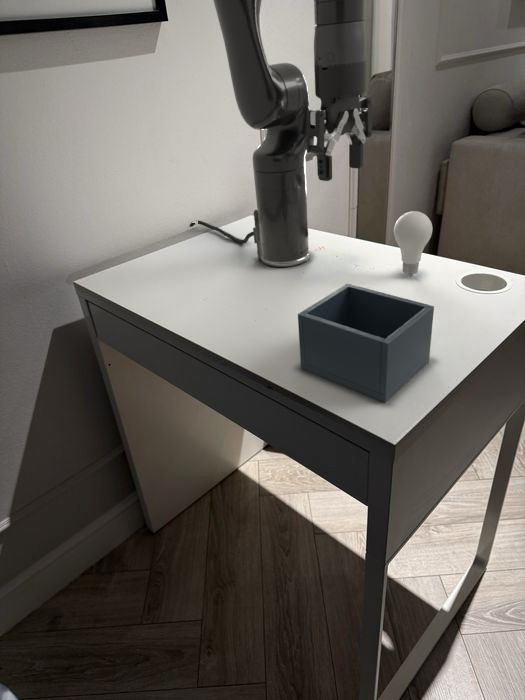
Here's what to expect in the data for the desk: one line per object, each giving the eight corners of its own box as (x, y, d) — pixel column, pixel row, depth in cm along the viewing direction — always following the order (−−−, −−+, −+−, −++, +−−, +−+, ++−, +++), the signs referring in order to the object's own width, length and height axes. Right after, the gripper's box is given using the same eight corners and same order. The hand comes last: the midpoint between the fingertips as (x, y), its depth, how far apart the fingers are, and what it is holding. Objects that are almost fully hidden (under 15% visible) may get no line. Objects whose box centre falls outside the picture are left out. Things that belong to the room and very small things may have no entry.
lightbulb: (429, 282, 86) (435, 217, 80) (391, 282, 87) (394, 218, 82) (427, 268, 91) (432, 205, 85) (391, 268, 93) (394, 206, 87)
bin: (300, 368, 68) (297, 314, 64) (347, 334, 74) (347, 283, 70) (385, 402, 60) (387, 343, 56) (429, 361, 66) (434, 306, 62)
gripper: (346, 56, 82) (347, 162, 91) (288, 66, 74) (295, 182, 82) (388, 54, 78) (384, 166, 86) (331, 64, 69) (334, 187, 78)
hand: (341, 173), depth 84 cm, fingers open, 8 cm apart
